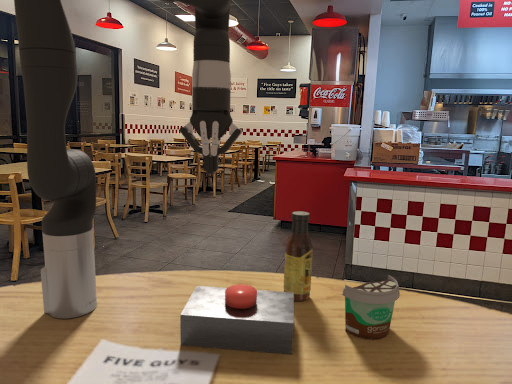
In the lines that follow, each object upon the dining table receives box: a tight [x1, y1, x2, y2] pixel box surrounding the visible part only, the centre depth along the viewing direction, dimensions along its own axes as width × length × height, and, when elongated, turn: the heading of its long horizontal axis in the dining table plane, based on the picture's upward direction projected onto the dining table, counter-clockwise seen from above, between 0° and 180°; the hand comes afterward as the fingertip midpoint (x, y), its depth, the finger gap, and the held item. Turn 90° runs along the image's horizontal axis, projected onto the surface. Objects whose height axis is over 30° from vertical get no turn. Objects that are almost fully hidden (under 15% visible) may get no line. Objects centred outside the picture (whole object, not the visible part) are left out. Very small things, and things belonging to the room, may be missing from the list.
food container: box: [342, 274, 401, 341], centre depth 75 cm, size 12×6×10 cm, turn 117°
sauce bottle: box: [283, 211, 314, 302], centre depth 89 cm, size 7×6×20 cm
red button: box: [225, 284, 258, 309], centre depth 74 cm, size 6×6×7 cm
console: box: [179, 285, 295, 355], centre depth 74 cm, size 20×12×6 cm, turn 85°
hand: (210, 173), depth 80 cm, fingers closed
